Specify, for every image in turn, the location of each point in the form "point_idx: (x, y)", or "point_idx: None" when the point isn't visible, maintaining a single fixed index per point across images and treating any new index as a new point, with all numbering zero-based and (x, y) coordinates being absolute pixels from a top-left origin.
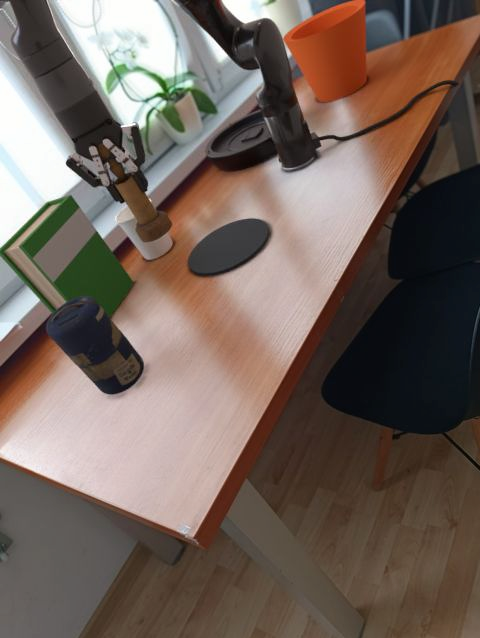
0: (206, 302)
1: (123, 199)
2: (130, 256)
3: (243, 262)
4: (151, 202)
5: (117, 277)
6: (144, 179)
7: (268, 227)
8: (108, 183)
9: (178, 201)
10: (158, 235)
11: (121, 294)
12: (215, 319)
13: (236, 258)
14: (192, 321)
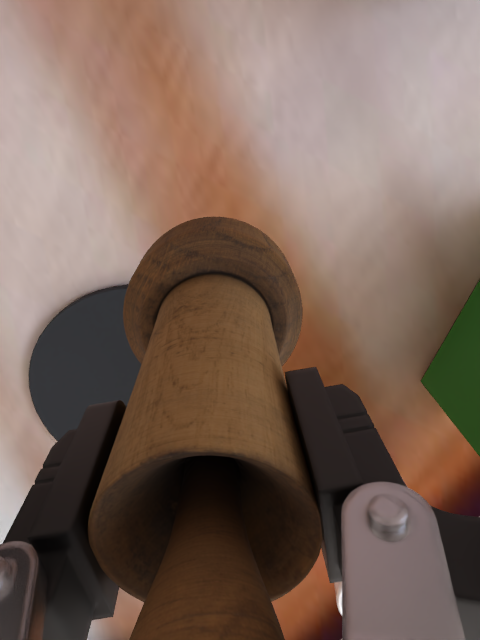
0: (182, 173)
1: (289, 397)
2: (435, 493)
3: (86, 296)
4: (336, 598)
5: (463, 377)
6: (40, 475)
7: (37, 408)
8: (359, 505)
9: (314, 626)
10: (179, 227)
11: (455, 336)
12: (138, 67)
13: (106, 318)
14: (217, 98)
